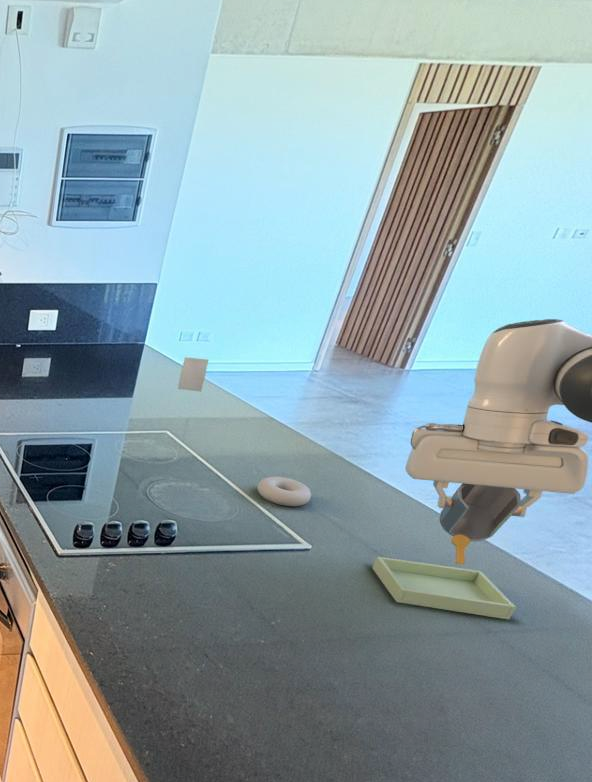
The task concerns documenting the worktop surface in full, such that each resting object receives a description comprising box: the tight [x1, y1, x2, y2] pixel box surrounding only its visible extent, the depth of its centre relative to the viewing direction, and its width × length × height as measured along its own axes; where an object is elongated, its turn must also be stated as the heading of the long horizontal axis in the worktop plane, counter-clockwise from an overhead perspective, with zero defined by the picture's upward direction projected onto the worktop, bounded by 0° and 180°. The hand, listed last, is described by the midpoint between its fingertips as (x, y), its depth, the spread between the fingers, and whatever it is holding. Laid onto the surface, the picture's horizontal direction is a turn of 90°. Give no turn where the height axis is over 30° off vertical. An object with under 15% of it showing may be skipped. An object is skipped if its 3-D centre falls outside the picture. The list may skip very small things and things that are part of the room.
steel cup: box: [438, 483, 522, 543], centre depth 100 cm, size 7×7×9 cm
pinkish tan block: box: [177, 356, 209, 392], centre depth 198 cm, size 4×7×10 cm, turn 66°
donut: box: [256, 476, 312, 507], centre depth 133 cm, size 10×4×10 cm
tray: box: [371, 556, 517, 620], centre depth 104 cm, size 15×10×2 cm
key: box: [451, 534, 471, 566], centre depth 101 cm, size 5×2×1 cm
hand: (479, 511), depth 99 cm, fingers closed on steel cup, 7 cm apart
